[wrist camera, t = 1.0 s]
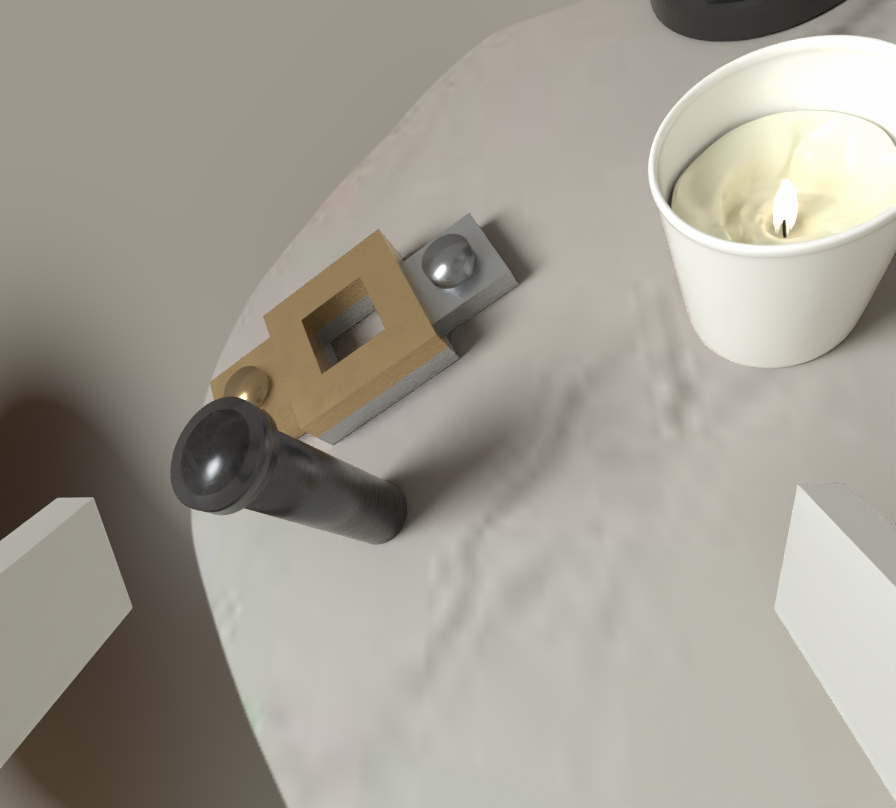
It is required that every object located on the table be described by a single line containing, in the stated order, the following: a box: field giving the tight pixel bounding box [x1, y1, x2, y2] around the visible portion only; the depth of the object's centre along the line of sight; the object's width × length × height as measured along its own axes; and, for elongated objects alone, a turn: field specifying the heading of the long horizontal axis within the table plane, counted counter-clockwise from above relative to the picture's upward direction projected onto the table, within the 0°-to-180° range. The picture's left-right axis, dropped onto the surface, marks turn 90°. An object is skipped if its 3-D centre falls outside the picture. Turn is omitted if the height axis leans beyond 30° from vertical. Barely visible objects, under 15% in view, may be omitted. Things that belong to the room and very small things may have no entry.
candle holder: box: [648, 35, 896, 368], centre depth 26 cm, size 10×10×12 cm
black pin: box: [171, 396, 407, 544], centre depth 31 cm, size 5×5×14 cm
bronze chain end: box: [210, 229, 448, 439], centre depth 41 cm, size 17×11×4 cm, turn 117°
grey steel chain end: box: [317, 213, 518, 445], centre depth 40 cm, size 17×11×3 cm, turn 117°
